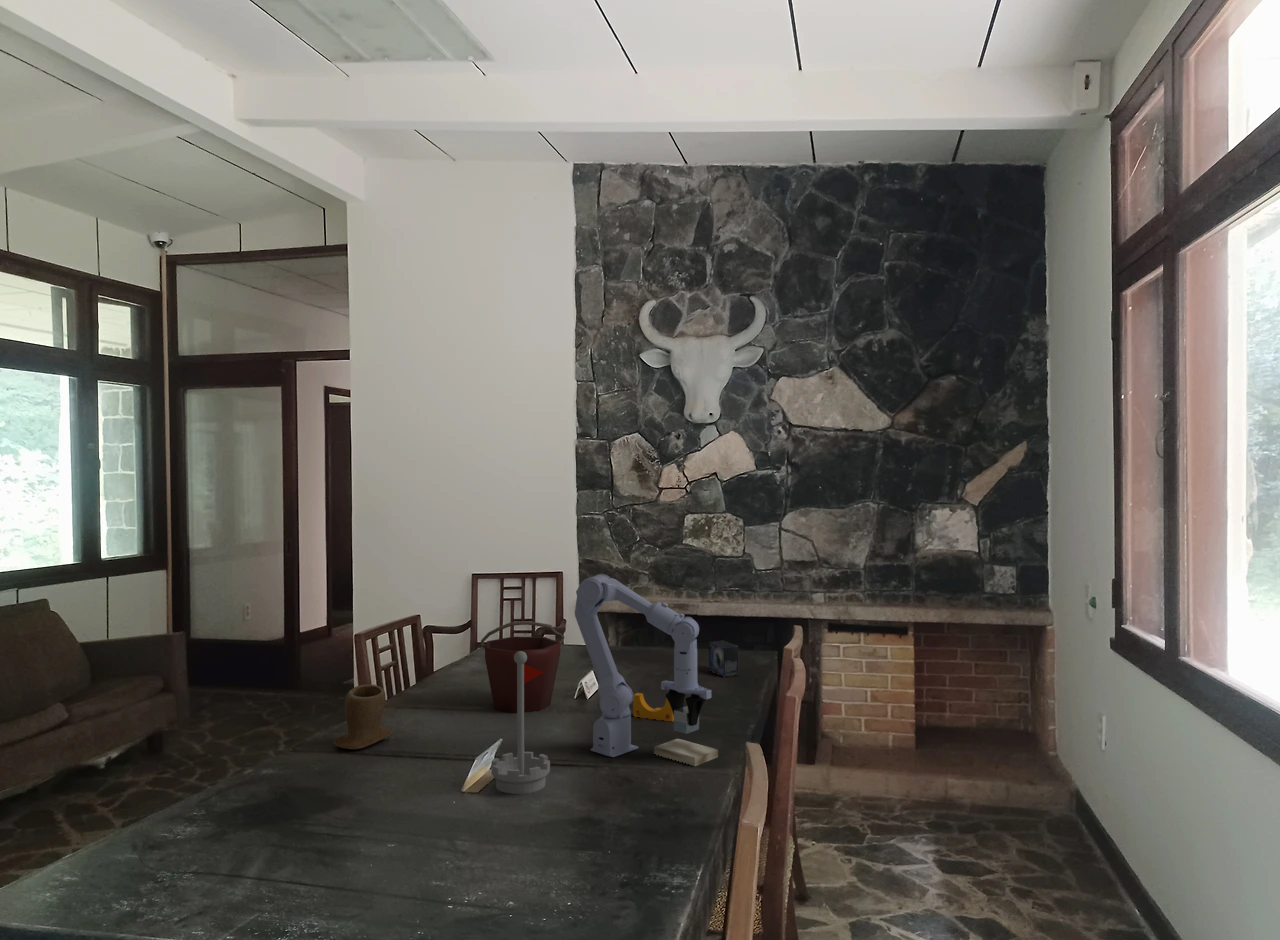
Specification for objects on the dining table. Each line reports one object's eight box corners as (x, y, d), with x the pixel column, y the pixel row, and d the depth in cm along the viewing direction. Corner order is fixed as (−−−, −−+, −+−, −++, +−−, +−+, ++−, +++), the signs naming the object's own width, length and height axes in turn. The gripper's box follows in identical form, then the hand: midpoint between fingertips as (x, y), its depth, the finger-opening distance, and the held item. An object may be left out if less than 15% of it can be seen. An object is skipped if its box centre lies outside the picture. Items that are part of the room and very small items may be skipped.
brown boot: (362, 756, 215) (362, 695, 215) (327, 749, 221) (326, 689, 221) (404, 738, 229) (404, 681, 229) (370, 732, 234) (370, 677, 234)
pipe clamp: (678, 718, 248) (678, 695, 248) (672, 722, 244) (672, 699, 244) (639, 713, 253) (639, 691, 253) (633, 717, 249) (633, 695, 249)
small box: (707, 671, 304) (707, 641, 304) (723, 669, 307) (723, 639, 307) (722, 678, 295) (722, 647, 295) (739, 676, 297) (739, 645, 297)
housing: (686, 733, 212) (686, 713, 212) (673, 730, 215) (673, 710, 215) (699, 729, 216) (699, 709, 216) (686, 726, 218) (686, 706, 218)
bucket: (568, 697, 270) (568, 616, 270) (555, 717, 248) (554, 629, 248) (491, 695, 273) (491, 615, 273) (471, 715, 251) (470, 628, 251)
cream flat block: (695, 766, 207) (694, 758, 207) (654, 754, 216) (654, 746, 216) (718, 757, 214) (718, 748, 214) (677, 745, 223) (677, 737, 223)
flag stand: (494, 798, 188) (494, 659, 188) (488, 777, 200) (488, 647, 200) (554, 792, 191) (554, 655, 191) (544, 772, 204) (544, 643, 204)
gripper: (719, 669, 213) (719, 725, 213) (673, 661, 223) (673, 714, 223) (701, 674, 208) (701, 731, 208) (655, 665, 218) (655, 720, 218)
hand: (685, 723), depth 215 cm, fingers closed on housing, 4 cm apart
